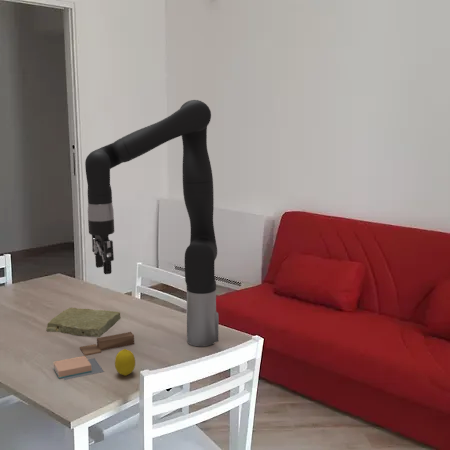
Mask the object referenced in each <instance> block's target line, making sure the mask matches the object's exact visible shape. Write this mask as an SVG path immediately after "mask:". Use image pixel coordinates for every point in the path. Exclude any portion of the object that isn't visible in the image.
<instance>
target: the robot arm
mask: <svg viewBox="0 0 450 450" xmlns="http://www.w3.org/2000/svg"><path fill="white" fill-rule="evenodd" d="M211 118H212V112H211V109H210V107H209V106H208V104H206V103H205V102H203V101H202V100H199V99H191V100H188V101H186V102H184V103H183V104H182V105H181V106H180V108H179V109H178V110H176V111H175V112H173V113H172V114H170V115H168V116H167V117H166V118H164V119H161V120H160V121H157V122H155V123H153V124H150V125H148V126H144V127H142V128H139V129H137V130H135V131H133V132H131V133H129V134H126V135H125V136H122V137H121V138H119V139H116V140H115V141H113V142H111V143H109V144H107V145H104V146H101V147H99V148H97V149H95V150H92V151H91V152H90V153H89V154H88V155H87V156H86V159H85V162H84V164H85V165H84V167H85V168H84V169H85V176H86V182H87V222H88V223H87V224H88V234H89V235H91V243H92V247H91V248H92V249H91V250H92V252H93V255H94V256H95V267H96V268H99V269H100V268H103V274H104V275H110V274H112V272H113V270H112V262H113V261H114V260H115V258H114V257H115V256H114V242H113V240H110V239H109V236H110V235H112V234H114V233H115V218H114V215H115V213H114V206H113V192H112V191H113V190H112V187H111V186H112V185H111V169H113V168H115V167H117V166H119V165H121V164H122V163H128V162H130V161H132V160H135V159H136V158H139V157H140V156H143V155H145V154H146V153H148V152H150V151H151V150H152V151H153V150H154V149H156V148H158V147H159V146H161V145H163V144H165V143H167V142H170V141H171V140H174V139H176V138H178V137H179V138H180V137H181V139H182V140H181V141H182V150H183V151H182V191H183V192H182V193H183V194H182V195H183V201H184V204H185V205H184V206H185V208H186V211H187V215H188V217H189V223H190V225H189V226H190V239H189V240H190V241H189V245H188V246H187V247H186V249H185V251H184V279H185V284H186V342H187V343H188V344H189V345H191V346H193V347H208V346H212V345H213V344H215V343H217V342H219V312H218V311H217V281H216V279H215V278H216V277H215V261H216V259H217V255H218V247H217V240H216V239H217V238H216V234H215V233H216V232H215V227H214V226H215V225H214V208H215V207H214V203H215V202H214V200H215V199H214V179H213V178H214V177H213V170H212V164H211V161H210V155H209V152H208V145H207V143H208V142H207V138H208V137H207V133H208V126H209V124H210V123H211Z"/></svg>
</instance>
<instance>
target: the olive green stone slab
mask: <svg viewBox="0 0 450 450" xmlns="http://www.w3.org/2000/svg"><path fill="white" fill-rule="evenodd" d="M120 319H122V318H121V312H120V311H114V310H105V309H91V308H78V307H69V308H66V309H65V310H63V311H62V312H60V313H59V314H57V315H56V316H54V317H52V319H50V320H49V322H47V324H46V329H45V330H46V331H47V332H50V333H51V332H52V333H62V334H69V335H72V336H79V337H80V336H82V337H95V338H100V337H102V336H103V335H104V334H105V333H106V332H107V331H108V330H110V329H111V328H112V327H113V326H114V325H115V324H117V322H119V320H120Z"/></svg>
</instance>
